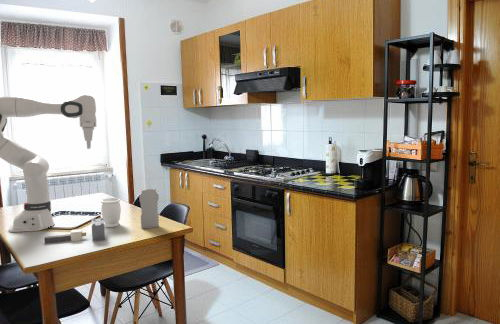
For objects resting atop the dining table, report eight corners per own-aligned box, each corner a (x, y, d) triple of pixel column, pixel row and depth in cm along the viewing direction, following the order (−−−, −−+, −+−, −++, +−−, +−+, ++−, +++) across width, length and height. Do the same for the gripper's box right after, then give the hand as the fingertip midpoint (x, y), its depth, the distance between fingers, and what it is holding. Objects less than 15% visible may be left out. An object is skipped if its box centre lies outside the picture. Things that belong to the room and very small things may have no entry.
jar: (101, 224, 226) (100, 198, 224) (120, 222, 230) (119, 197, 228) (102, 228, 216) (101, 202, 215) (122, 226, 220) (121, 200, 219)
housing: (92, 241, 195) (91, 224, 194) (92, 234, 207) (91, 218, 206) (105, 239, 197) (104, 223, 196) (104, 232, 209) (104, 217, 208)
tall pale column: (141, 229, 215) (139, 190, 213) (139, 227, 219) (138, 189, 216) (160, 227, 220) (159, 188, 217) (158, 225, 223) (157, 187, 221)
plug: (44, 244, 191) (43, 235, 191) (45, 241, 195) (44, 232, 195) (86, 239, 198) (85, 231, 198) (86, 237, 202) (86, 228, 202)
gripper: (82, 123, 230) (83, 146, 232) (81, 124, 211) (82, 149, 213) (94, 123, 233) (94, 146, 234) (94, 124, 214) (94, 149, 215)
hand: (88, 147), depth 223 cm, fingers open, 8 cm apart
